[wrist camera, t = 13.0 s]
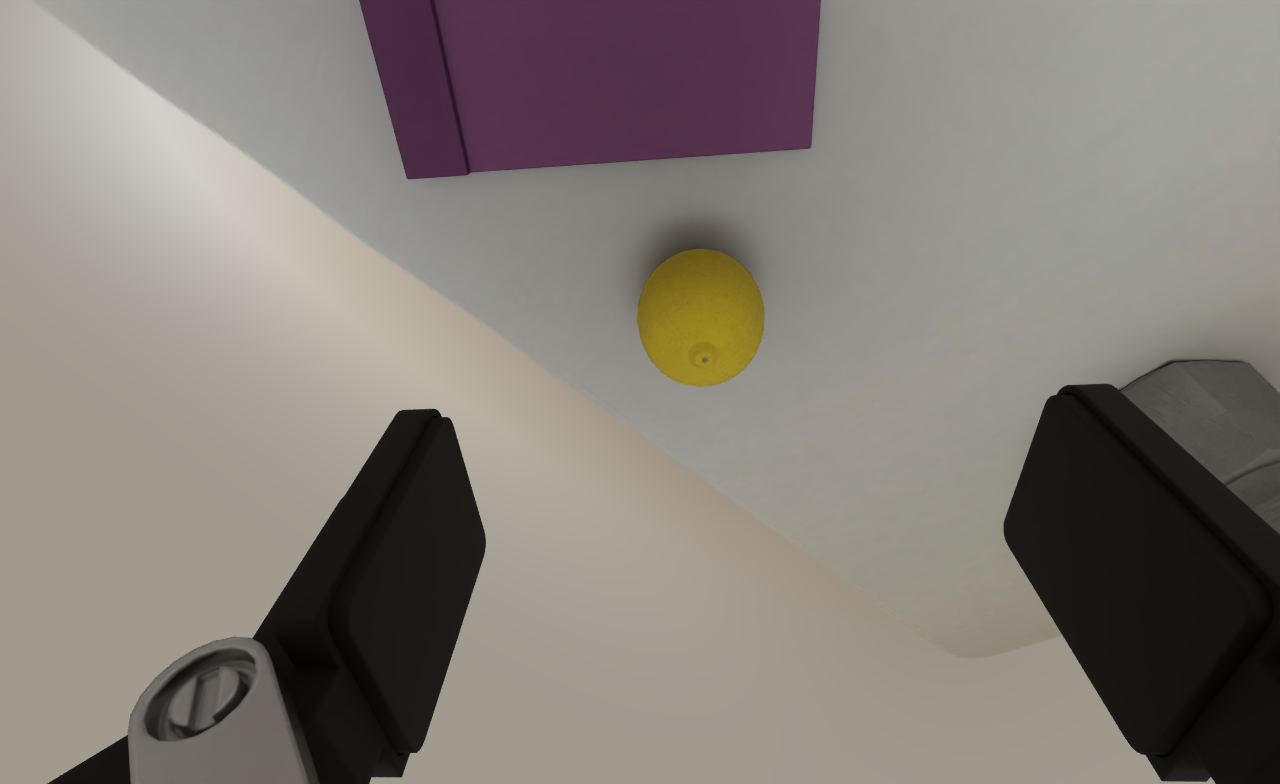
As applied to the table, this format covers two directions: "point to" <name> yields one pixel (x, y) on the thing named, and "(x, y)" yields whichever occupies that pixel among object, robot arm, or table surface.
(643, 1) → the purple notebook
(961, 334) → the table surface
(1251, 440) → the coffeepot
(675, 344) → the lemon
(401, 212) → the table surface
